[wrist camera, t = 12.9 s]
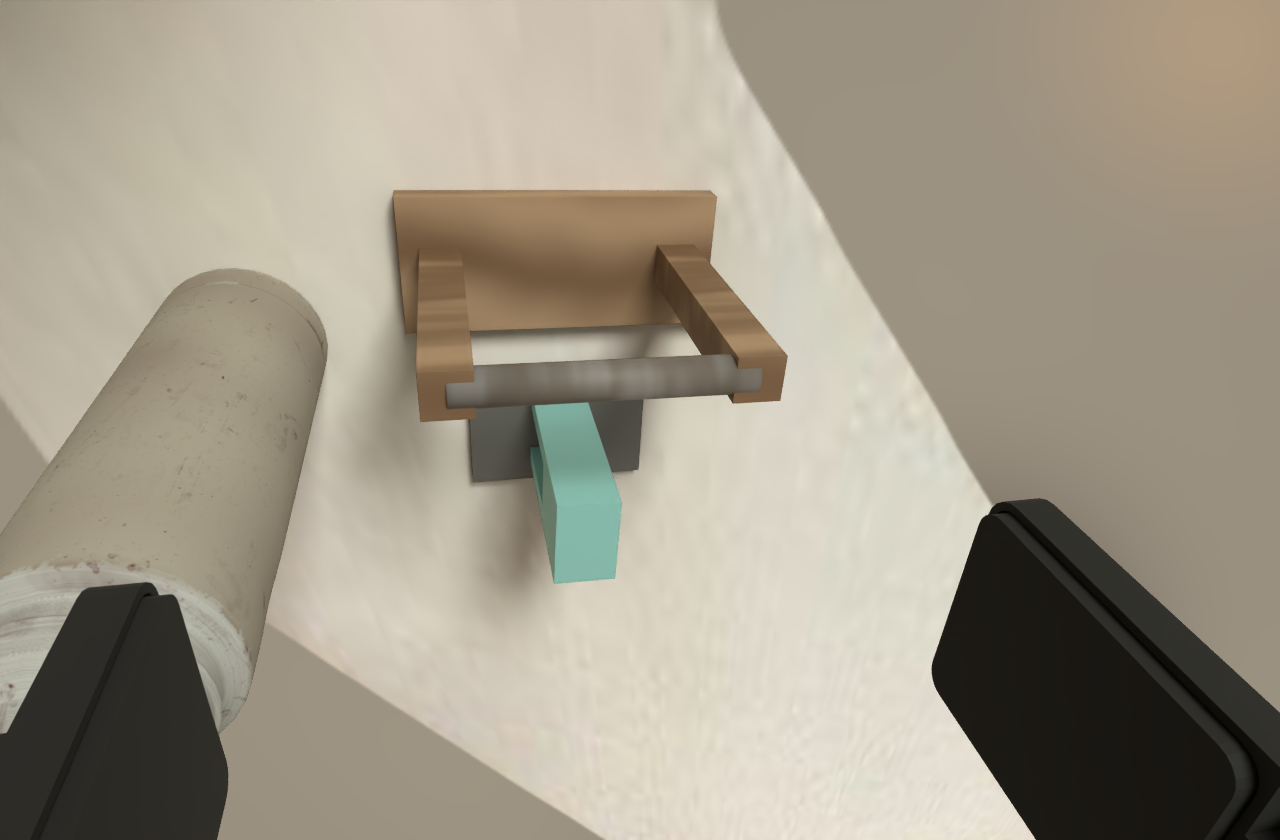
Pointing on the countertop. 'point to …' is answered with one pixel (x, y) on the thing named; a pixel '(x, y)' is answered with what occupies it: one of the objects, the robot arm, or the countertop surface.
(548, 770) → the countertop surface
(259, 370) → the thermos bottle
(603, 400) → the stand
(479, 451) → the mat
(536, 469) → the tall mint green block
